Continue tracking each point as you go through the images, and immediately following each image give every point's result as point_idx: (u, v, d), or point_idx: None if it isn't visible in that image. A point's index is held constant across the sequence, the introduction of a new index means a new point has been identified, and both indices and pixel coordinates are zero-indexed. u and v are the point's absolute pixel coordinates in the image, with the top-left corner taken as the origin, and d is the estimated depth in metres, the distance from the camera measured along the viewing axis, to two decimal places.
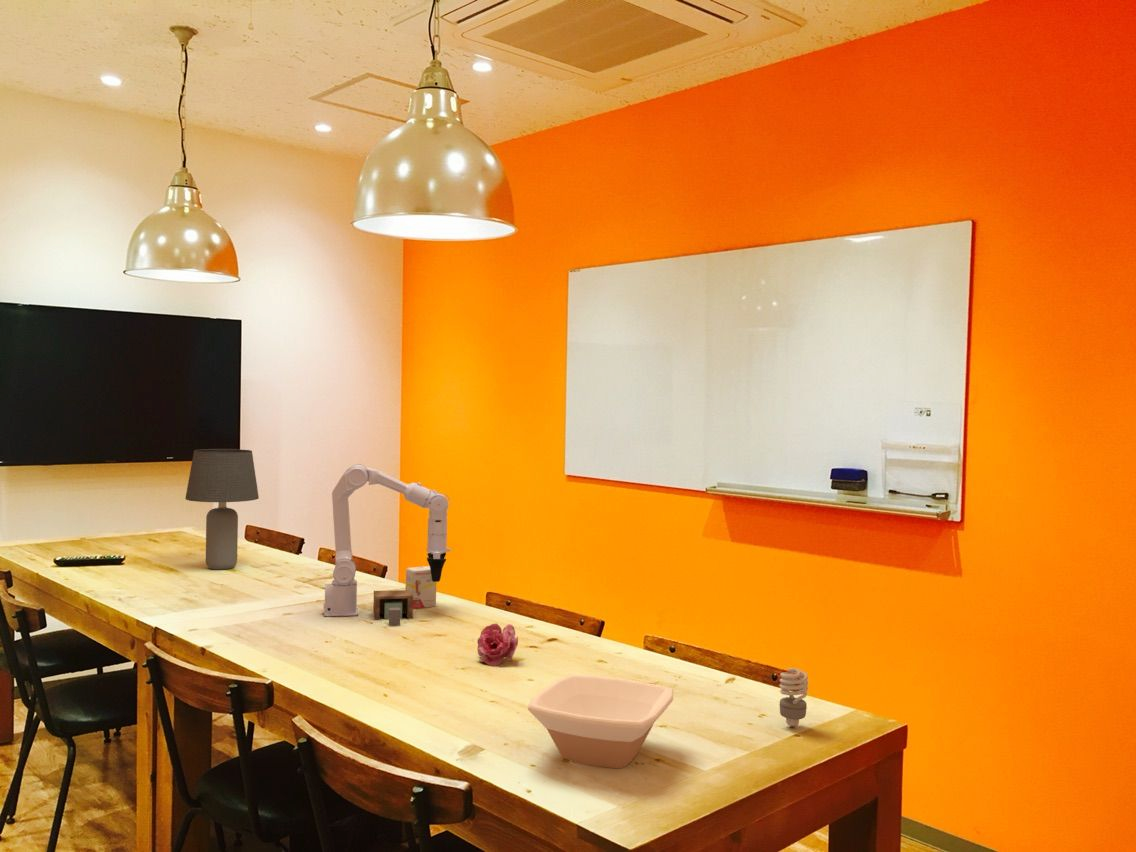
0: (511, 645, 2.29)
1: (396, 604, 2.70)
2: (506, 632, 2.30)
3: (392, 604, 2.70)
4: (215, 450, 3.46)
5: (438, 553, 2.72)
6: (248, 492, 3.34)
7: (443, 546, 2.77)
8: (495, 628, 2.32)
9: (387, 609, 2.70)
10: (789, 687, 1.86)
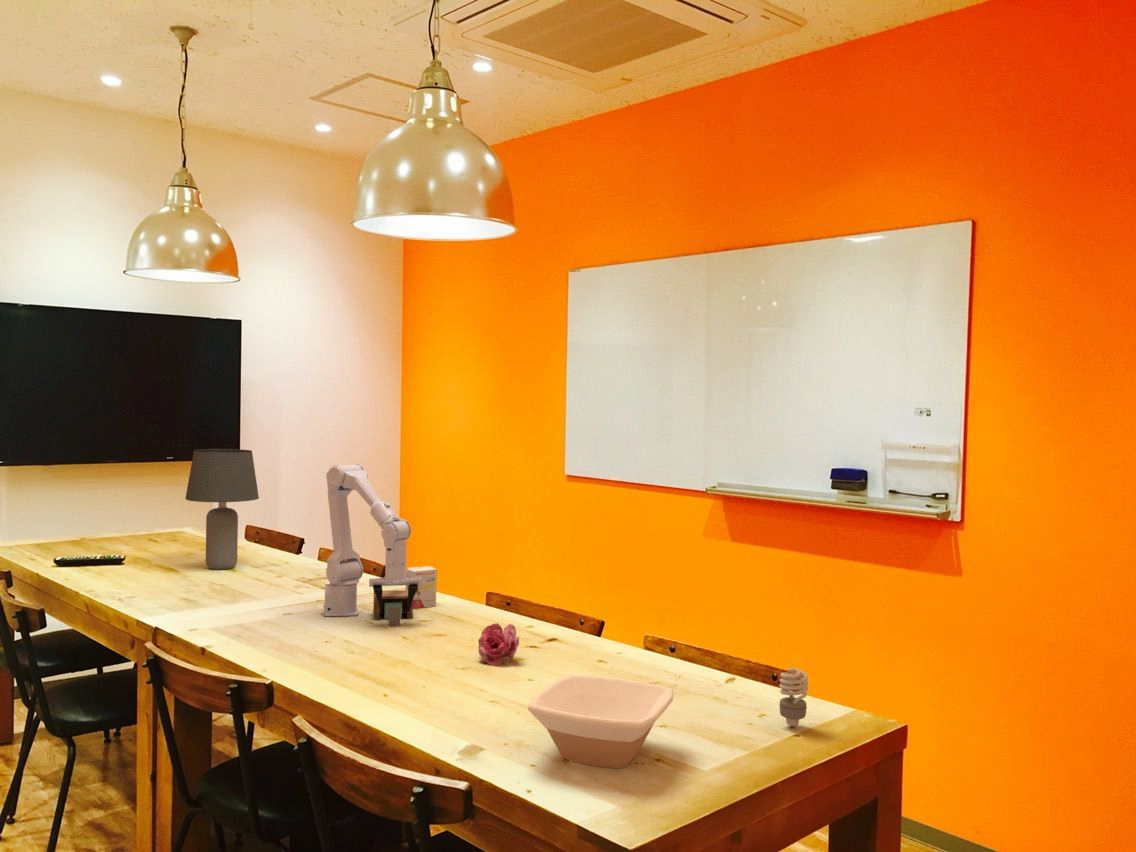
0: (512, 645, 2.29)
1: (396, 604, 2.70)
2: (507, 632, 2.30)
3: (392, 604, 2.70)
4: (215, 450, 3.46)
5: None
6: (248, 492, 3.34)
7: (388, 577, 2.60)
8: (496, 628, 2.33)
9: (387, 609, 2.70)
10: (789, 687, 1.86)
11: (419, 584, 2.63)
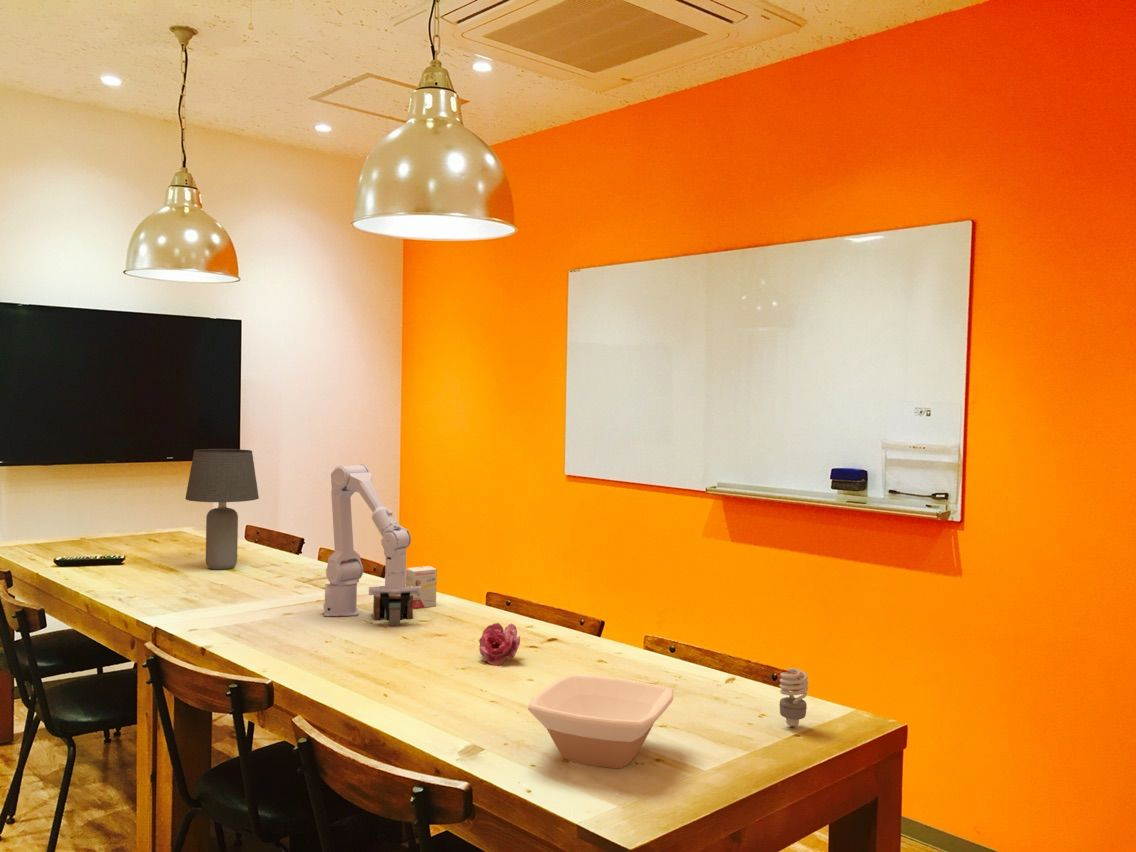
0: (513, 644, 2.29)
1: (396, 604, 2.70)
2: (508, 631, 2.30)
3: (392, 604, 2.70)
4: (215, 450, 3.46)
5: (369, 589, 2.61)
6: (248, 492, 3.34)
7: (388, 585, 2.60)
8: (497, 627, 2.33)
9: None
10: (789, 687, 1.86)
11: (419, 593, 2.63)
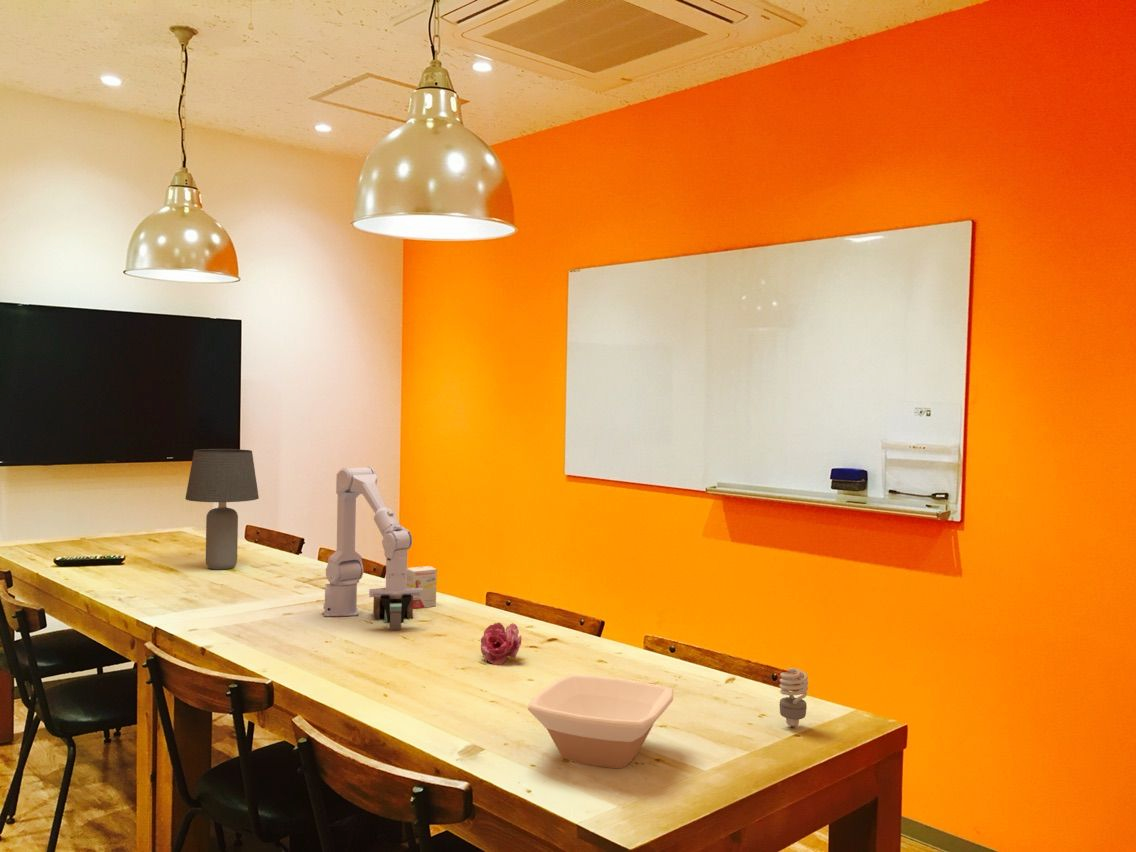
0: (514, 644, 2.30)
1: (397, 607, 2.66)
2: (509, 631, 2.31)
3: (393, 607, 2.65)
4: (215, 450, 3.46)
5: None
6: (248, 492, 3.34)
7: (389, 587, 2.55)
8: (498, 627, 2.33)
9: None
10: (789, 687, 1.86)
11: (420, 595, 2.59)
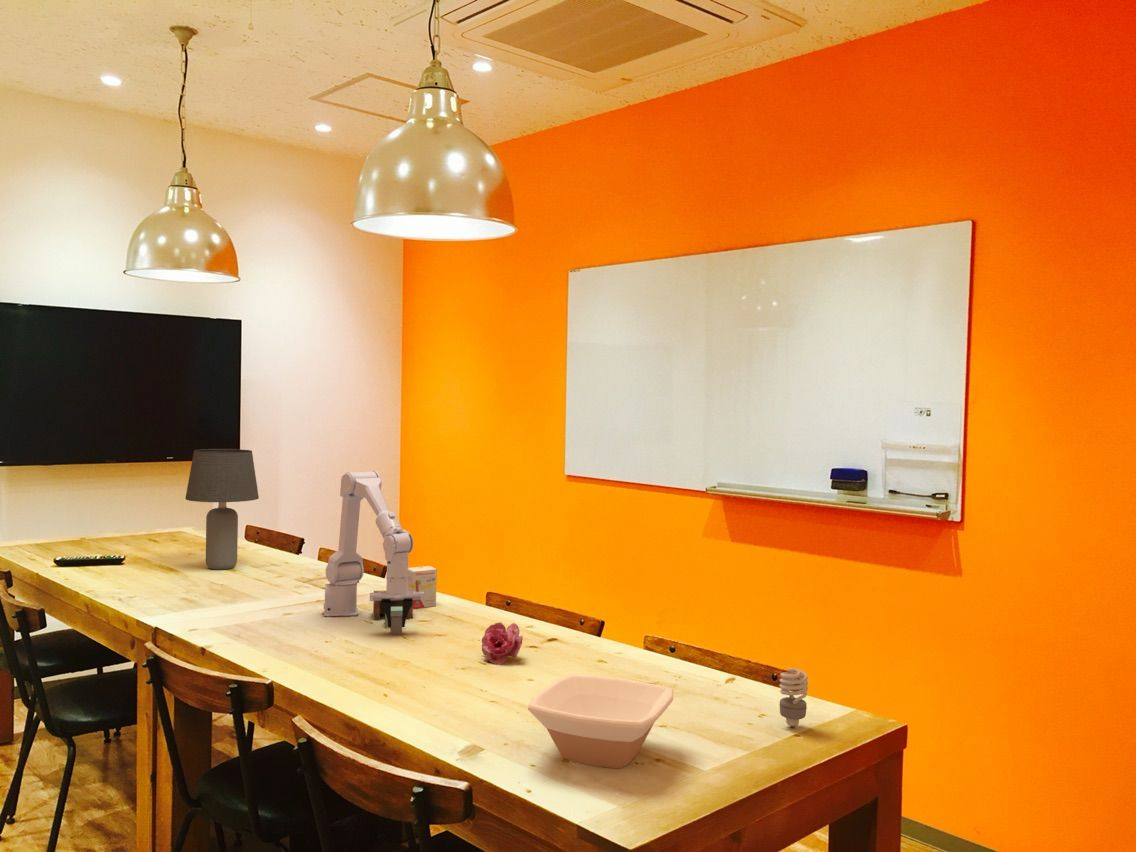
0: (515, 644, 2.30)
1: (398, 612, 2.61)
2: (510, 631, 2.31)
3: (394, 612, 2.61)
4: (215, 450, 3.46)
5: (370, 594, 2.51)
6: (248, 492, 3.34)
7: (389, 591, 2.51)
8: (499, 627, 2.34)
9: None
10: (789, 687, 1.86)
11: (421, 598, 2.54)
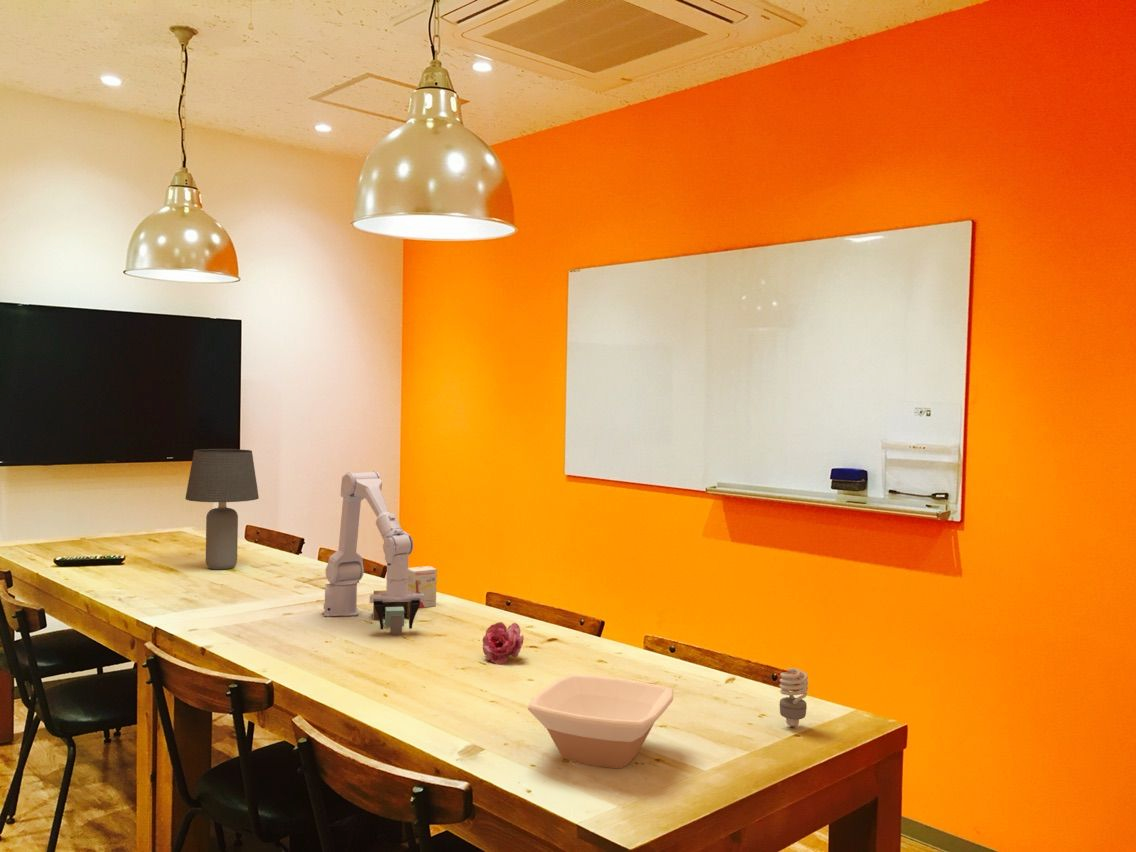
0: (516, 643, 2.30)
1: (398, 612, 2.61)
2: (511, 630, 2.31)
3: (394, 612, 2.61)
4: (215, 450, 3.46)
5: (370, 596, 2.51)
6: (248, 492, 3.34)
7: (389, 593, 2.51)
8: (500, 627, 2.34)
9: (388, 617, 2.60)
10: (789, 687, 1.86)
11: (421, 600, 2.54)
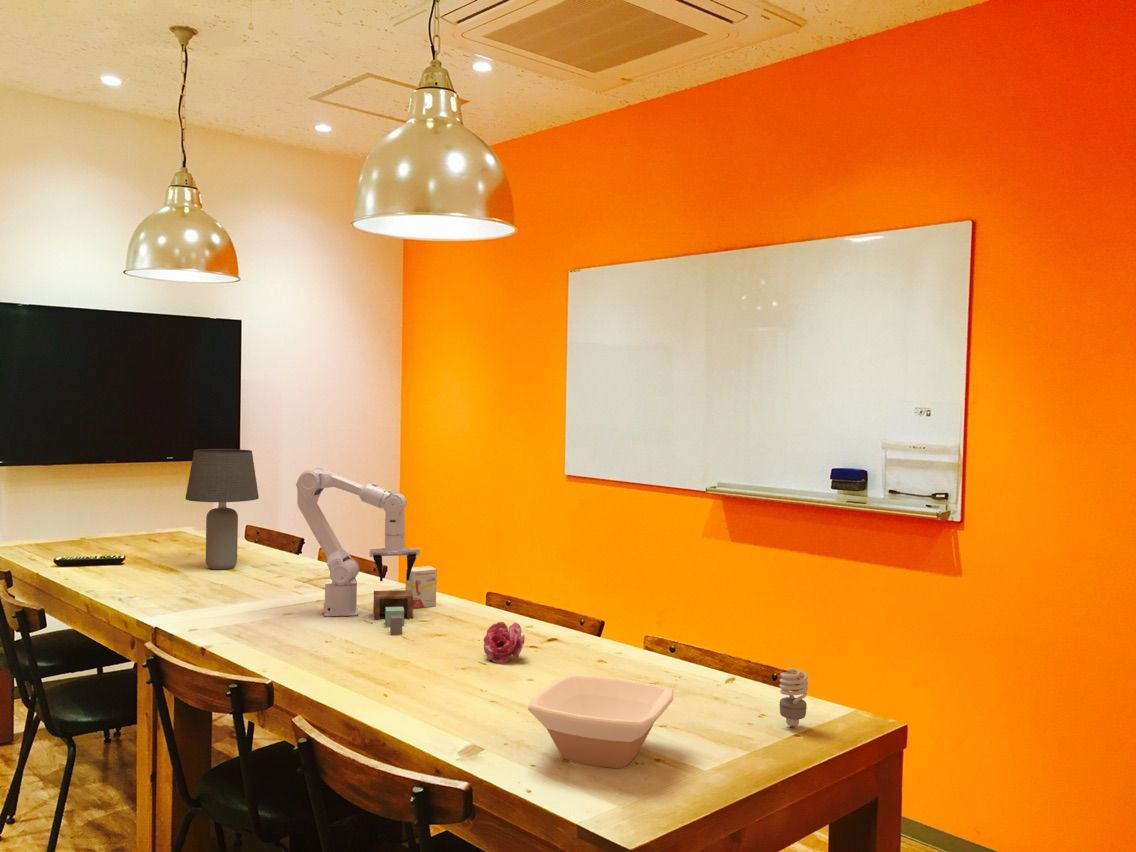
0: (517, 643, 2.31)
1: (398, 612, 2.61)
2: (512, 630, 2.32)
3: (394, 612, 2.61)
4: (215, 450, 3.46)
5: None
6: (248, 492, 3.34)
7: (388, 547, 2.71)
8: (501, 626, 2.34)
9: (388, 617, 2.60)
10: (789, 687, 1.86)
11: (417, 554, 2.74)
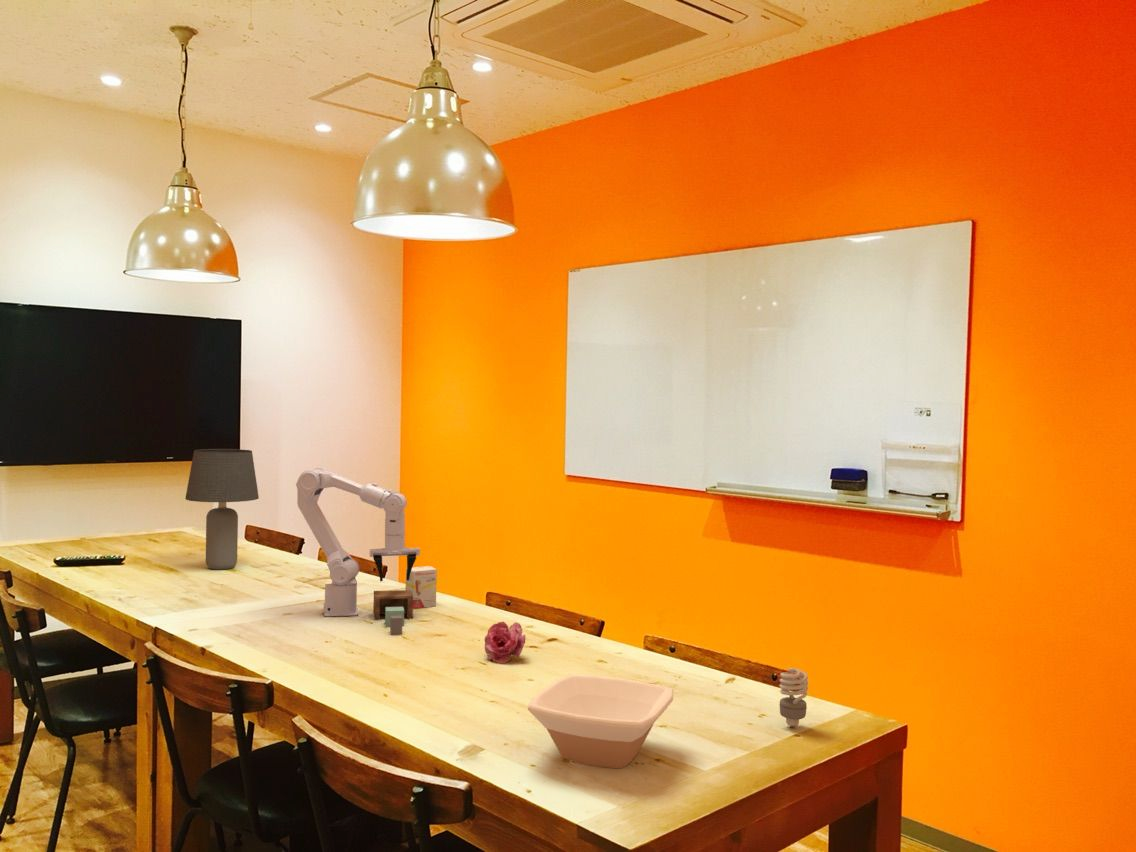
0: (518, 643, 2.31)
1: (398, 612, 2.61)
2: (513, 630, 2.32)
3: (394, 612, 2.61)
4: (215, 450, 3.46)
5: None
6: (248, 492, 3.34)
7: (388, 547, 2.71)
8: (502, 626, 2.35)
9: (388, 617, 2.60)
10: (789, 687, 1.86)
11: (417, 554, 2.74)
